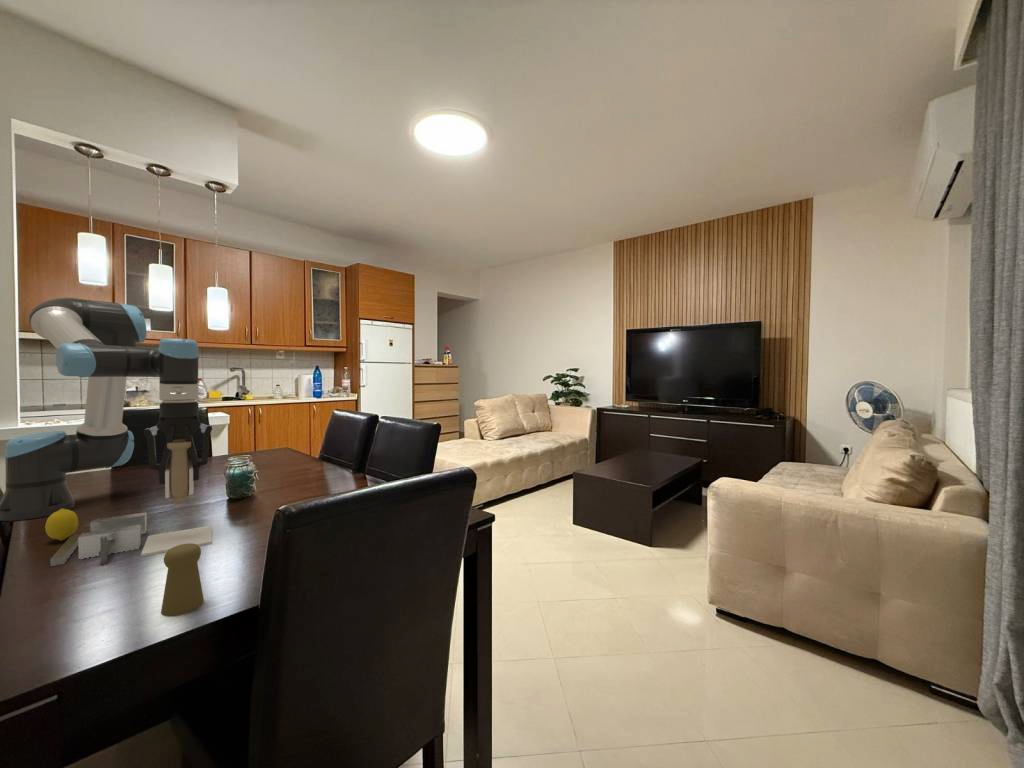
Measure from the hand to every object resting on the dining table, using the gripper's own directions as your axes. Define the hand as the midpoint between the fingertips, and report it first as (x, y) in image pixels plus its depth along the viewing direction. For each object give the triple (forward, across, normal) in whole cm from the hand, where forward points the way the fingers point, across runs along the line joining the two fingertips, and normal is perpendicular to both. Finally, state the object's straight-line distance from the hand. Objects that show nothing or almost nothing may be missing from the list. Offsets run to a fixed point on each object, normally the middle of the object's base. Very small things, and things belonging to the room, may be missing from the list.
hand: (179, 494), depth 102 cm
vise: (+13, -15, +3) cm, 20 cm away
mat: (+12, 0, 0) cm, 12 cm away
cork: (+12, +2, -37) cm, 39 cm away
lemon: (+12, -24, +16) cm, 31 cm away
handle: (+2, 0, 0) cm, 2 cm away
